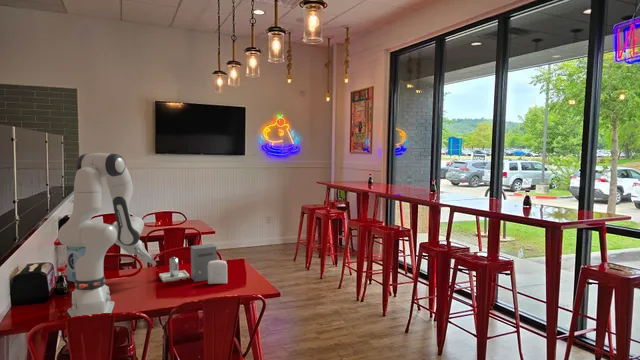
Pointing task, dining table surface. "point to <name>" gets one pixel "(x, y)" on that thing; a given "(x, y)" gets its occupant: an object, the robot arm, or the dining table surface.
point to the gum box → (73, 260)
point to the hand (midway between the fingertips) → (153, 262)
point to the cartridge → (174, 267)
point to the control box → (201, 260)
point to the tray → (166, 277)
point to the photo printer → (217, 272)
